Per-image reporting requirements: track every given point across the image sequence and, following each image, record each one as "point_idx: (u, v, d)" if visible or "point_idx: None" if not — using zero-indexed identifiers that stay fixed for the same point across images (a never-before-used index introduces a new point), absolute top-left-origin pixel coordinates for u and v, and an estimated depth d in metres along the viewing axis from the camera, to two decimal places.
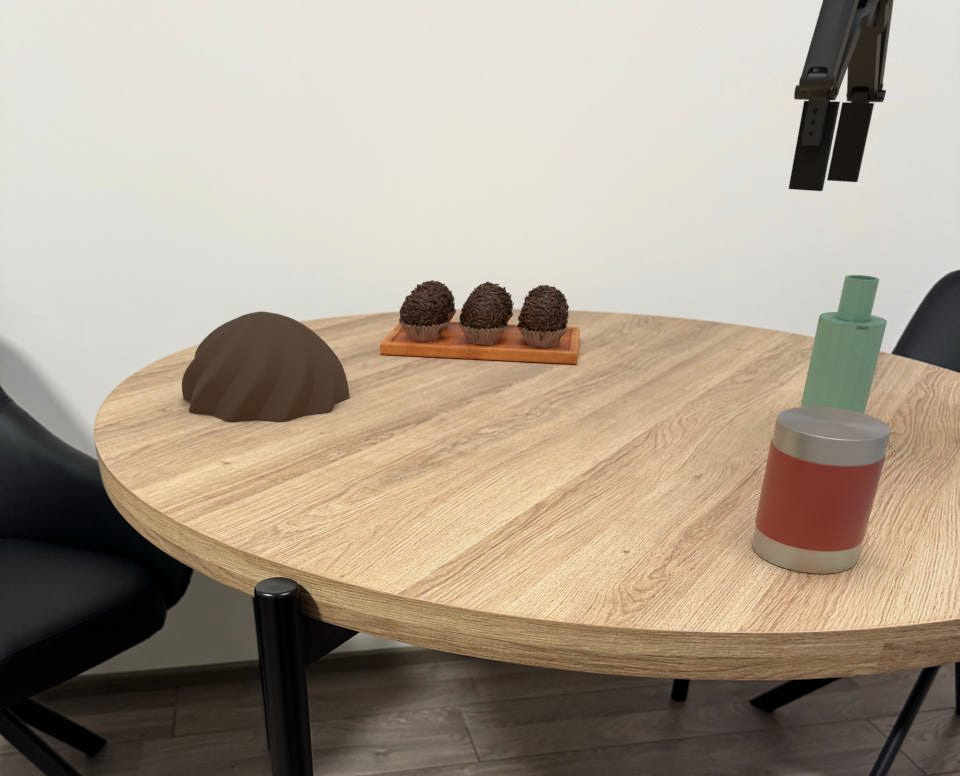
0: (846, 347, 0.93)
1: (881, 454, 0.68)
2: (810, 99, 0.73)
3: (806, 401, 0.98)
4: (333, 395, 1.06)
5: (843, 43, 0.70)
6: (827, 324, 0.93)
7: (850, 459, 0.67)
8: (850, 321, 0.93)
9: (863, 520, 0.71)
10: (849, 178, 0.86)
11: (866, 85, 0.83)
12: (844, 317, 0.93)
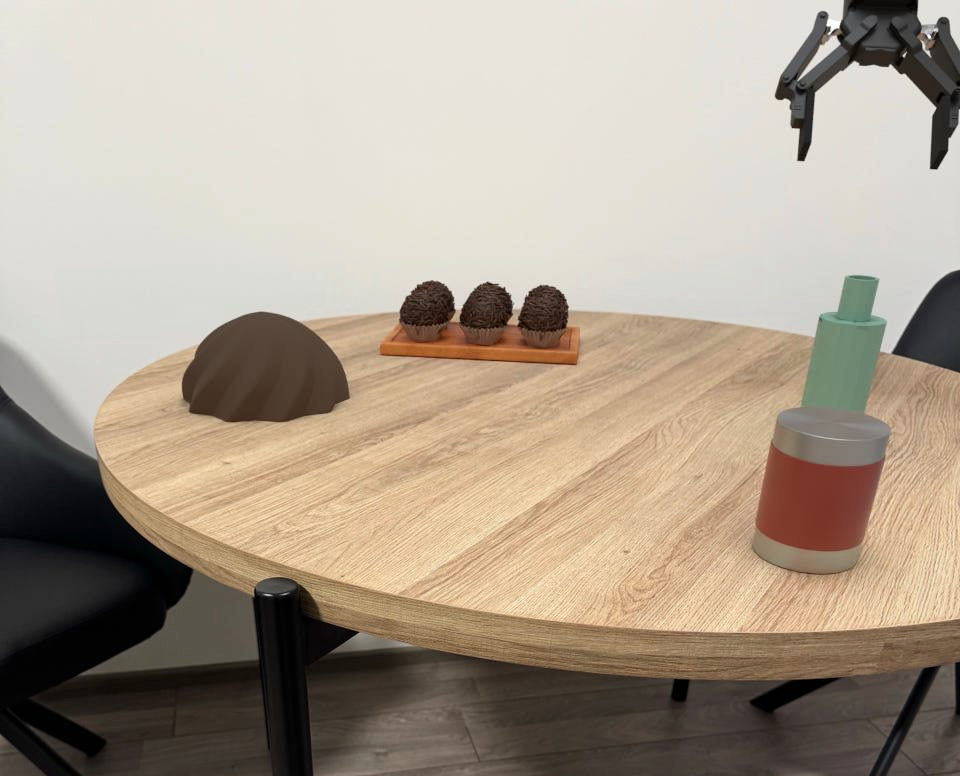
0: (846, 347, 0.93)
1: (881, 454, 0.68)
2: (791, 101, 0.97)
3: (806, 401, 0.98)
4: (333, 395, 1.06)
5: (798, 57, 0.96)
6: (827, 324, 0.93)
7: (850, 459, 0.67)
8: (850, 321, 0.93)
9: (863, 520, 0.71)
10: (937, 153, 0.93)
11: (939, 91, 0.95)
12: (844, 317, 0.93)
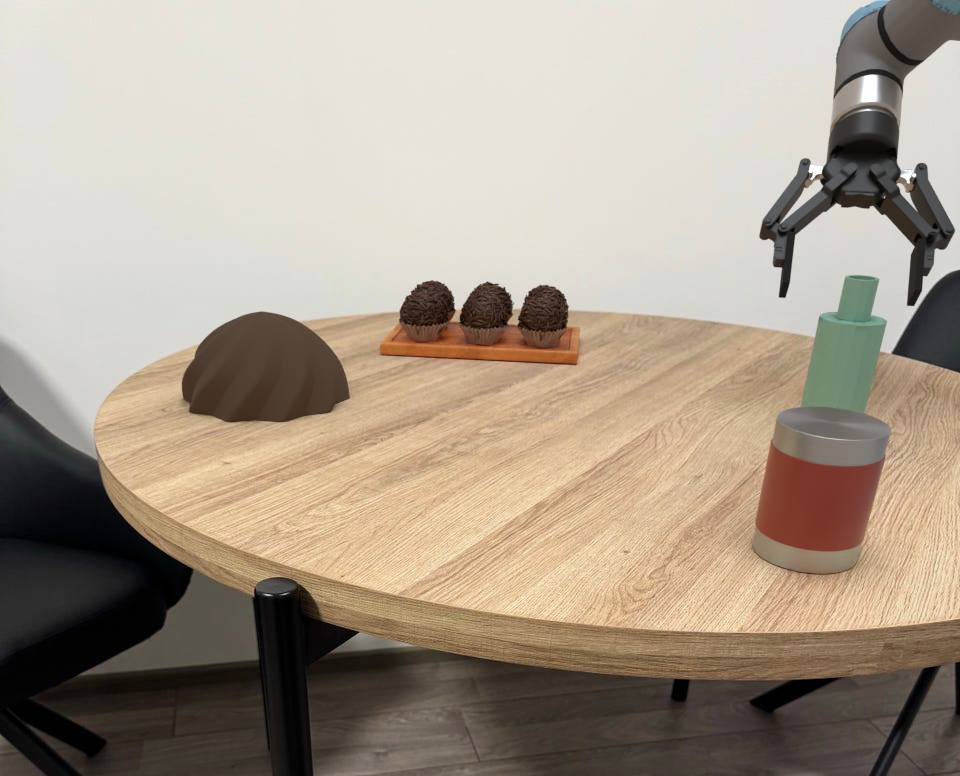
0: (846, 347, 0.93)
1: (881, 454, 0.68)
2: (774, 241, 1.03)
3: (806, 401, 0.98)
4: (333, 395, 1.06)
5: (780, 202, 1.02)
6: (827, 324, 0.93)
7: (850, 459, 0.67)
8: (850, 321, 0.93)
9: (863, 520, 0.71)
10: (912, 292, 0.97)
11: (916, 232, 0.99)
12: (844, 317, 0.93)
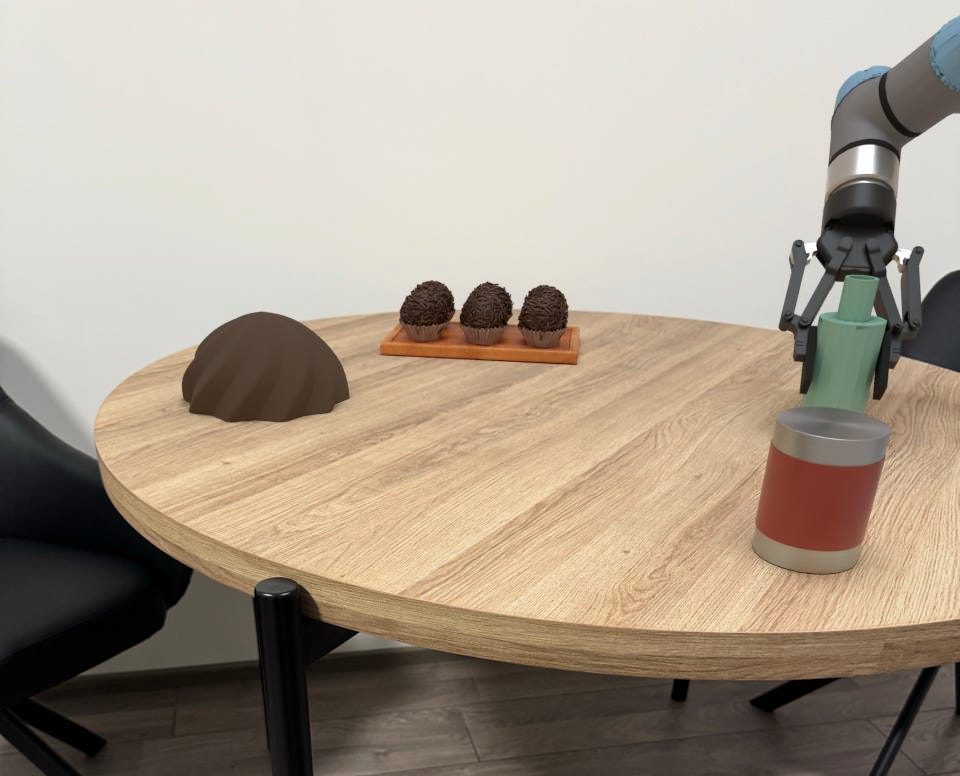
0: (846, 347, 0.93)
1: (881, 454, 0.68)
2: (794, 334, 0.98)
3: (806, 401, 0.98)
4: (333, 395, 1.06)
5: (791, 291, 0.97)
6: (827, 324, 0.93)
7: (850, 459, 0.67)
8: (850, 321, 0.93)
9: (863, 520, 0.71)
10: (878, 387, 0.93)
11: (886, 320, 0.95)
12: (844, 317, 0.93)
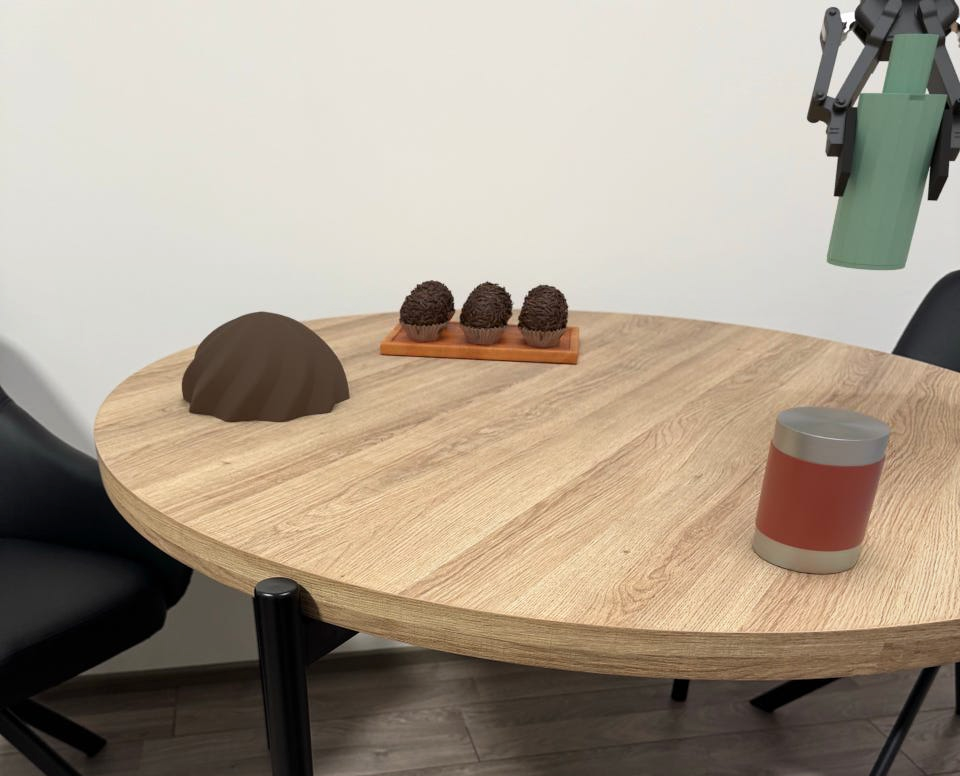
0: (896, 126, 0.72)
1: (881, 454, 0.68)
2: (827, 123, 0.77)
3: (842, 210, 0.78)
4: (333, 395, 1.06)
5: (824, 67, 0.77)
6: (871, 98, 0.73)
7: (850, 459, 0.67)
8: (900, 93, 0.72)
9: (863, 520, 0.71)
10: (935, 179, 0.73)
11: None
12: (893, 89, 0.73)
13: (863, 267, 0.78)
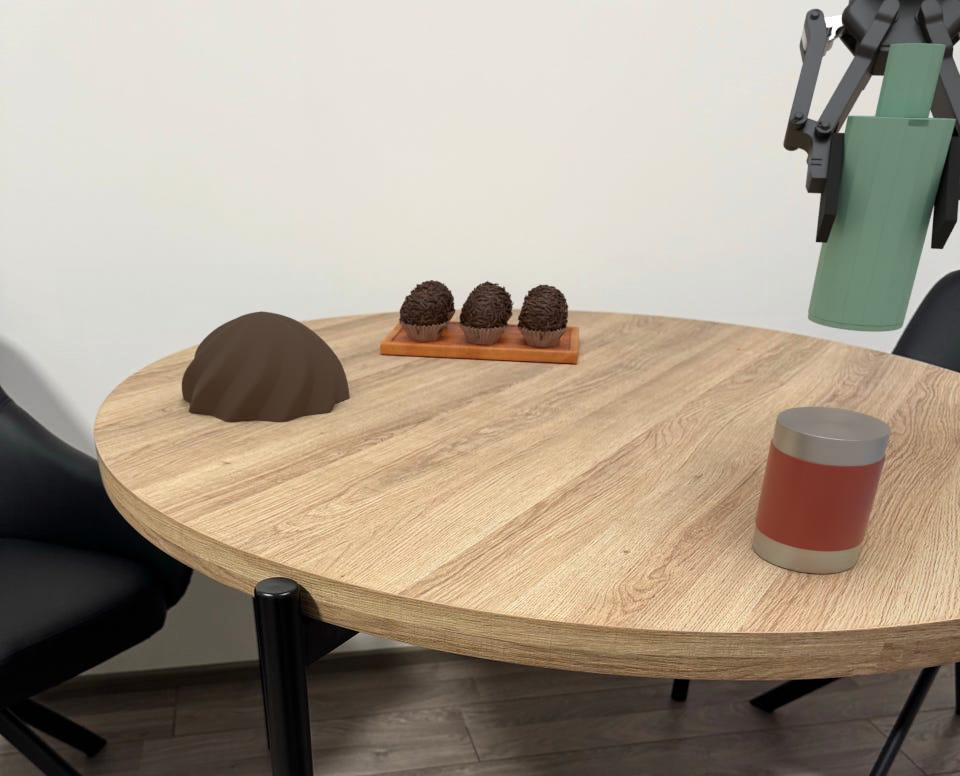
0: (892, 159, 0.58)
1: (881, 454, 0.68)
2: (807, 152, 0.63)
3: (826, 258, 0.64)
4: (333, 395, 1.05)
5: (804, 83, 0.62)
6: (861, 123, 0.59)
7: (850, 459, 0.67)
8: (898, 117, 0.58)
9: (863, 520, 0.71)
10: (941, 224, 0.59)
11: None
12: (888, 112, 0.59)
13: (852, 328, 0.64)
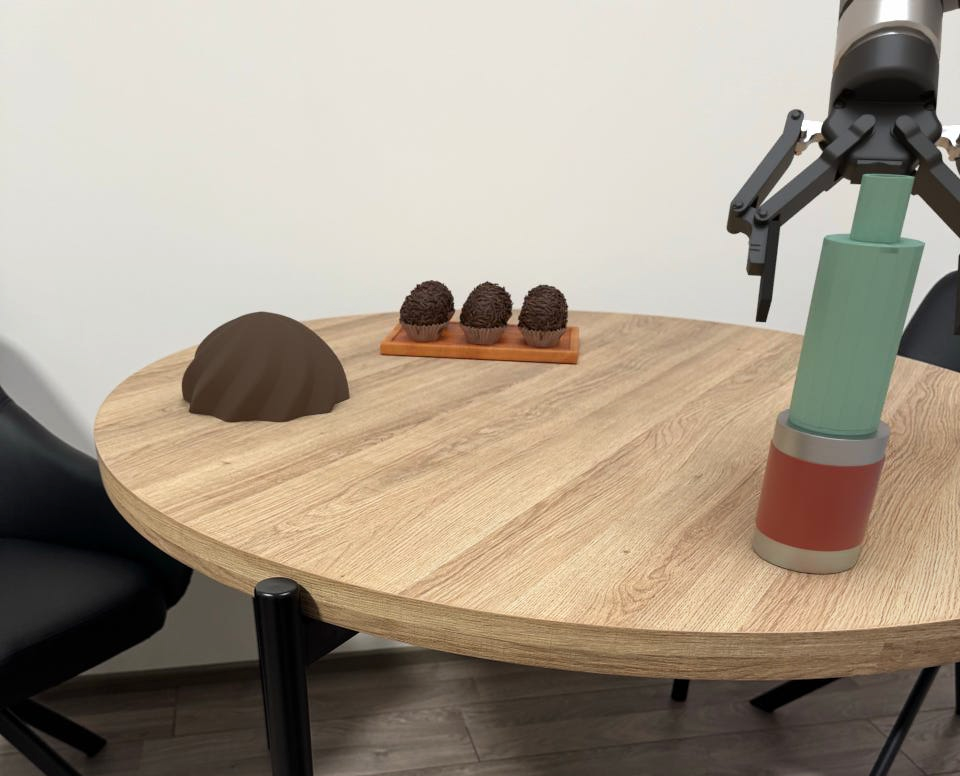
0: (865, 282, 0.62)
1: (881, 454, 0.68)
2: (748, 236, 0.67)
3: (804, 366, 0.67)
4: (333, 395, 1.05)
5: (757, 176, 0.66)
6: (836, 247, 0.62)
7: (850, 459, 0.67)
8: (870, 242, 0.62)
9: (863, 520, 0.71)
10: None
11: None
12: (861, 237, 0.62)
13: (829, 432, 0.67)
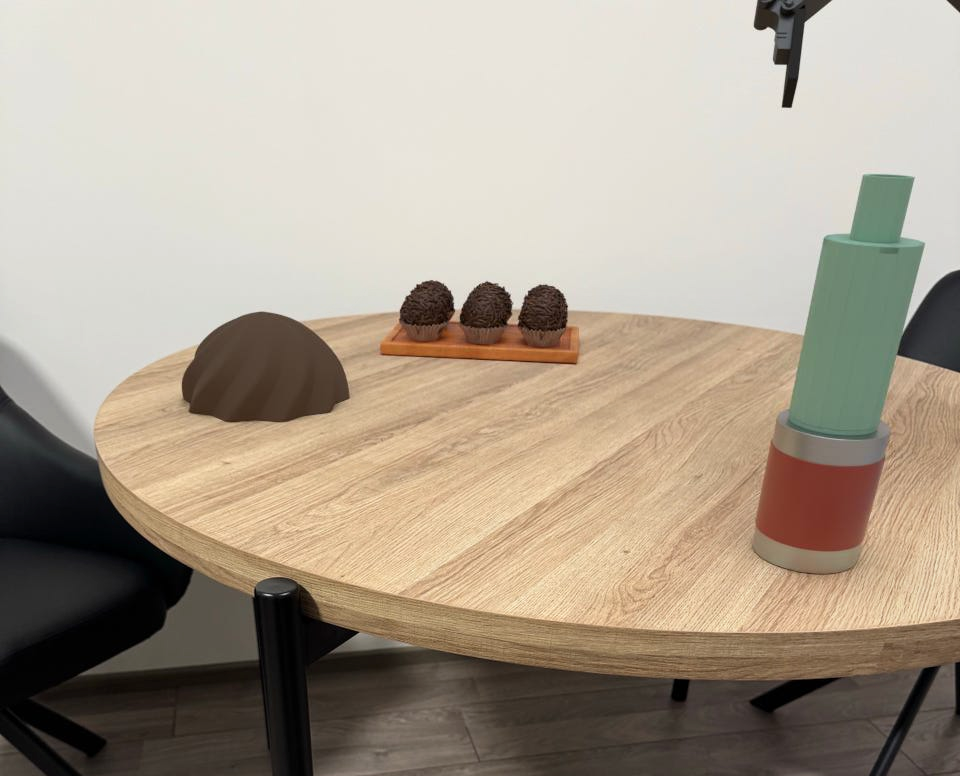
0: (865, 282, 0.62)
1: (881, 454, 0.68)
2: (774, 29, 0.71)
3: (804, 366, 0.67)
4: (333, 395, 1.05)
5: None
6: (836, 247, 0.62)
7: (850, 459, 0.67)
8: (870, 242, 0.62)
9: (863, 520, 0.71)
10: None
11: None
12: (861, 237, 0.62)
13: (829, 432, 0.67)
